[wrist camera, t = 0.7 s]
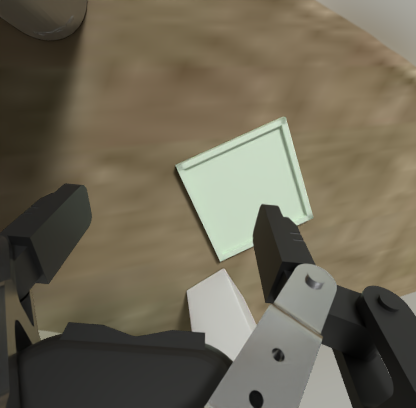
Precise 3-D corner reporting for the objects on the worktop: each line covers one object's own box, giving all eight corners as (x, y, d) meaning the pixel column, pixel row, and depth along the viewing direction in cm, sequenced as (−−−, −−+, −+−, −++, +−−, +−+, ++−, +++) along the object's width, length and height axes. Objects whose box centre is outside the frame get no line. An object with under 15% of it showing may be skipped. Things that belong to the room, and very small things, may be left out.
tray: (175, 164, 32) (175, 166, 31) (281, 117, 32) (285, 116, 31) (218, 257, 37) (220, 261, 36) (308, 215, 38) (313, 217, 37)
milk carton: (186, 290, 38) (204, 431, 20) (223, 267, 38) (275, 388, 20) (207, 318, 40) (241, 466, 22) (243, 296, 40) (305, 428, 22)
